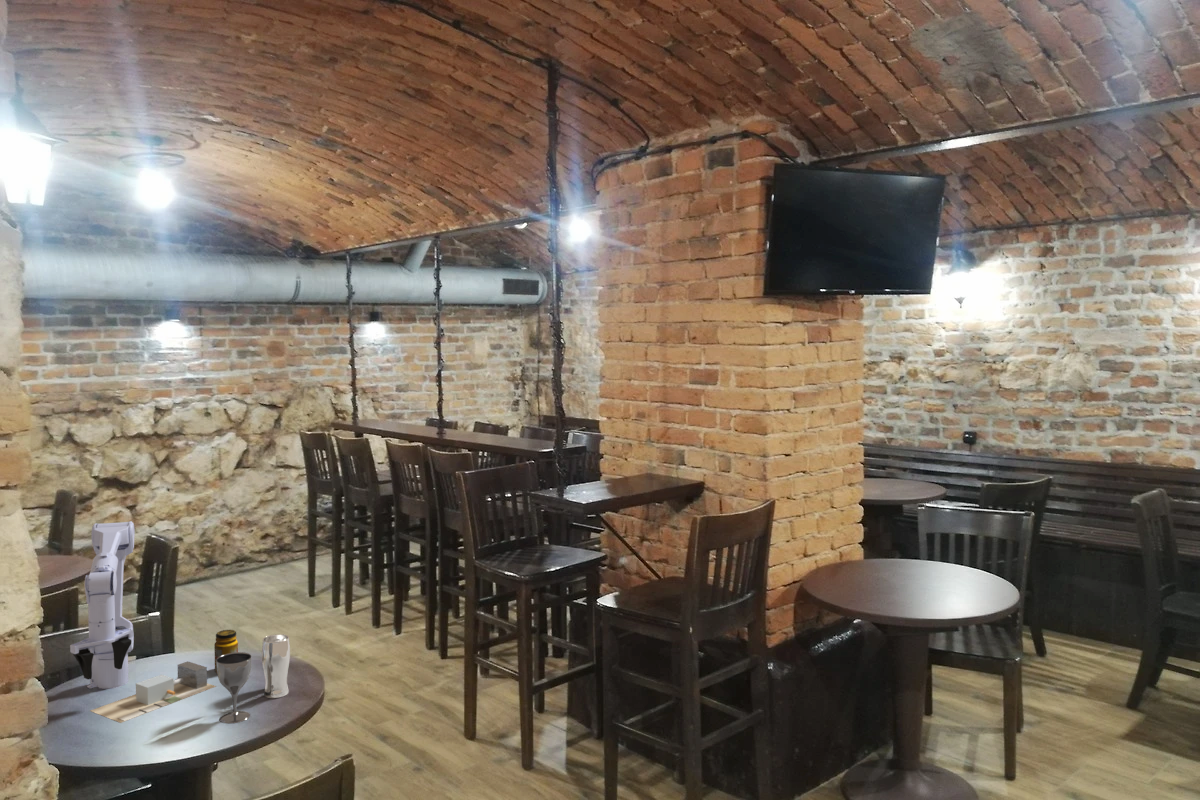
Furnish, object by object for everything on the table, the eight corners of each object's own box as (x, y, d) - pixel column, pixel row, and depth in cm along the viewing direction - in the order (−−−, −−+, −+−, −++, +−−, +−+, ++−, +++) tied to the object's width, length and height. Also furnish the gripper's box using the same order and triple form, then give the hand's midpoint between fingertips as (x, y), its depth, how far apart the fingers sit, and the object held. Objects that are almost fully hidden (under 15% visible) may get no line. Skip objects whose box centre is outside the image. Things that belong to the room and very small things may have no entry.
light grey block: (136, 700, 221) (135, 683, 220) (176, 686, 230) (175, 669, 230) (153, 707, 217) (153, 689, 217) (193, 692, 226) (193, 675, 226)
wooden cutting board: (89, 715, 215) (89, 709, 214) (185, 680, 237) (185, 675, 237) (120, 727, 208) (120, 721, 208) (216, 690, 231) (216, 685, 230)
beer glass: (281, 700, 225) (280, 643, 224) (256, 697, 226) (256, 641, 225) (295, 689, 232) (295, 634, 231) (272, 687, 233) (271, 632, 232)
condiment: (243, 674, 242) (243, 632, 241) (212, 682, 236) (211, 639, 235) (233, 667, 247) (232, 626, 246) (202, 675, 241) (201, 633, 240)
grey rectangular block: (177, 683, 232) (177, 664, 232) (188, 679, 235) (187, 661, 235) (196, 689, 228) (196, 670, 228) (206, 685, 231) (206, 667, 231)
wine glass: (248, 723, 211) (247, 663, 210) (213, 725, 210) (212, 664, 209) (255, 709, 219) (254, 651, 218) (222, 711, 218) (221, 652, 217)
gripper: (81, 630, 207) (82, 686, 208) (139, 614, 219) (140, 667, 220) (64, 625, 210) (66, 680, 211) (123, 610, 223) (124, 661, 224)
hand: (103, 673), depth 216 cm, fingers open, 7 cm apart
